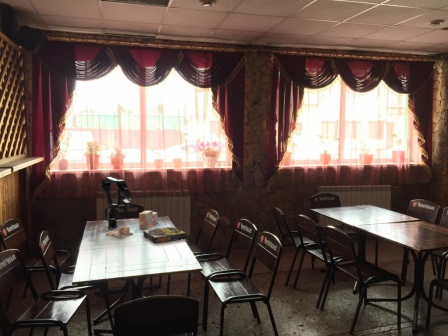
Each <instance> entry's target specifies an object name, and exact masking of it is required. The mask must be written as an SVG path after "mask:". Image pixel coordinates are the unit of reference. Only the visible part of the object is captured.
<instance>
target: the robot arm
mask: <svg viewBox="0 0 448 336" xmlns="http://www.w3.org/2000/svg"><path fill="white" fill-rule="evenodd" d="M112 185H114V187H115V191H116V197H115V199H116V202H115V203H114V202H113V201H114V200H113V198H112V194H111V186H112ZM98 187H99V189H100V191H101V192H102V194H103V195H104V199H105V202H106V205H107V215H106V216H105V221H107V223H108V224H107V227H106V228H109V229H115V228H119V226H118V224H117V223H118V222H117V220H119V216H120V212H119V209H120V208H119V207H121V206H122V209H123V213H124V215H127V212H128V209H129V208H130V207H131V206H132V205H133V203H132V199H131V198H130V196H131V191H130V190H129V188H128V185H127V183H126V181H125V180H124V179H118V178H113V177H112V176H107V177H104V179H103V180H101V181H100V182H99V185H98ZM127 198H128V199H127Z"/></svg>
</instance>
